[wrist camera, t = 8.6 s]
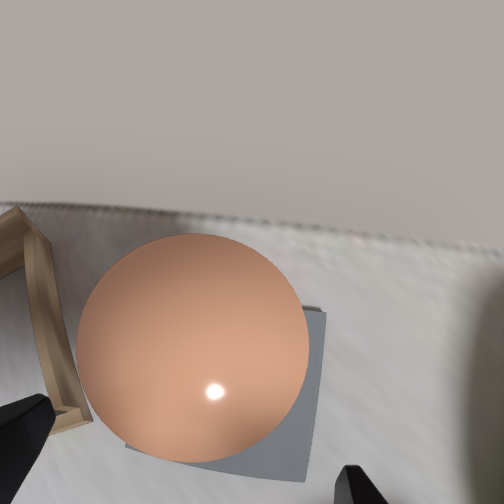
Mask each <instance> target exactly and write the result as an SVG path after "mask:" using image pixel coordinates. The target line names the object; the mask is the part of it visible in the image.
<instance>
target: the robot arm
mask: <svg viewBox="0 0 504 504" xmlns="http://www.w3.org/2000/svg"><path fill="white" fill-rule="evenodd" d="M55 420H56V414H55V411H54V408H53V405H52V402H51V400H50V398H49V397H47V396H45V395H43V394H35V395H33V396H30V397H27V398H24V399H21V400H19V401H16V402H13V403H10V404H7V405H4V406H1V407H0V504H11V502H12V500H13V498H14V497H15V495H16V493H17V491H18V490H19V488H20V486H21V485H22V483H23V481H24V479H25V478H26V476H27V474H28V473H29V471H30V469H31V468H32V466H33V464H34V463H35V461H36V460H37V458H38V456H39V454H40V452H41V450H42V448H43V446H44V444H45V442H46V440H47V438H48V435H49V433H50V431H51V429H52V427H53V425H54V423H55ZM334 504H388V503H387V501H386V500H385V499H384V497H383V496H382V495H381V493H380V492H379V491H378V489H377V488H376V487H375V486H374V484H373V483H372V482H371V480H370V479H369V478H368V476H367V475H366V474H365V472H364V471H363V469H362V468H361V467H360V466H359V465H345V466H344V467H343V469H342V471H341V472H340V474H339V476H338V478H337V480H336V483H335V494H334Z"/></svg>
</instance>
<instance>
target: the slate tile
mask: <svg viewBox="0 0 504 504" xmlns="http://www.w3.org/2000/svg"><path fill="white" fill-rule="evenodd" d="M303 312H304V315H305V318H306V323H307V328H308V335H309V356H308V366H307V370H306V374H305V378H304V382H303V384H302V387H301V389H300V392H299V394H298V397H297V398H296V400H295V402H294V404H293V405H292V407H291V409H290V411H289V412H288V413H287V414H286V416H285V417H284V418H283V420H282V421H281V422H280V423H279V424H278V425H277V426H276V427H275V428H274V429H273V430H272V431H271V432H270V433H269V434H268V435H267V436H266V437H264V438H263V439H261V440H260V441H258V442H257V443H256V444H254V445H253V446H251V447H249V448H247V449H245V450H243V451H241V452H239V453H237V454H234V455H231V456H228V457H225V458H222V459H218V460H212V461H206V462H177V461H173V462H177V463H181V464H185V465H189V466H194V467H198V468H203V469H208V470H213V471H218V472H223V473H229V474H235V475H241V476H248V477H255V478H263V479H271V480H281V481H293V482H305V479H306V474H307V468H308V462H309V456H310V450H311V444H312V437H313V431H314V424H315V417H316V409H317V402H318V394H319V385H320V377H321V368H322V358H323V348H324V337H325V325H326V312H318V311H309V310H303ZM125 447H127V448H129V449H133V450H136V451H139V452H142V451H140V450H138V449H136V448H134V447H133V446H131V445H129V444H128V443H126V444H125ZM142 453H144V452H142ZM145 454H147V453H145ZM148 455H149V454H148ZM169 461H170V460H169Z"/></svg>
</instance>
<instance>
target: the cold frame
mask: <svg viewBox="0 0 504 504" xmlns="http://www.w3.org/2000/svg"><path fill="white" fill-rule="evenodd" d="M24 265H25V271H26V282H27V291H28V299H29V306H30V313H31V319H32V325H33V331H34V336H35V342H36V347H37V351H38V356H39V360H40V365H41V369H42V373H43V377H44V381H45V385H46V388H47V392H48V395H49V398H50V400H51V402H52V405H53V408H54V410H61V411H68V412H67V413H64V414H61V415H58V416H56V420H55V423H54V425H53V427H52V429H51V431H50V433H49V435H53V434H56V433H59V432H62V431H66V430H69V429H72V428H75V427H78V426H81V425H84V424H87V423H90V422H93V419H92V416H91V414H90V411H89V408H88V405H87V403H86V400H85V397H84V394H83V391H82V388H81V385H80V381H79V378H78V375H77V372H76V368H75V365H74V361H73V358H72V354H71V350H70V347H69V343H68V339H67V335H66V331H65V326H64V322H63V317H62V313H61V308H60V303H59V298H58V292H57V287H56V281H55V275H54V268H53V261H52V254H51V245H50V242H49V241H48V240H47V239H46V238H45V236H44V235H43V234H42V233H41V232H40V231H39V230H38V229H37V228H36V226H35V225H34V224H33V223H32V222H31V221H30V220H29V218H28V217H27V216H26V215H25V214H24V213H23V211H22V210H21V209H20V208H19V207H18V205H17V206H15V207H14V208H12V209H10V210H9V211H7V212H6V213H4V214H2V215H1V216H0V279H1V278H3V277H4V276H6V275H8V274H10V273H11V272H13V271H15V270H17V269H18V268H20V267H22V266H24ZM49 435H48V436H49Z"/></svg>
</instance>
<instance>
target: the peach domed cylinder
mask: <svg viewBox="0 0 504 504" xmlns="http://www.w3.org/2000/svg"><path fill="white" fill-rule="evenodd" d="M308 356H309V335H308V328H307V323H306V318H305V315H304V312H303V309H302V306H301V303H300V301H299V299H298V297H297V295H296V293H295V291H294V289H293V288H292V286H291V285H290V283H289V282H288V280H287V279H286V277H285V276H284V275H283V274H282V273H281V272H280V271H279V270H278V268H277V267H276V266H275V265H273V264H272V263H271V262H270V261H269V260H268V259H267V258H265V257H264V256H263V255H261V254H260V253H258V252H257V251H255V250H254V249H252V248H250V247H248V246H246V245H244V244H242V243H239V242H237V241H234V240H231V239H228V238H224V237H220V236H216V235H208V234H180V235H172V236H168V237H164V238H160V239H157V240H154V241H152V242H149V243H146V244H144V245H142V246H140V247H138V248H136V249H134V250H133V251H131V252H130V253H128V254H127V255H125V256H124V257H122V258H121V259H120V260H119V261H117V262H116V263H115V264H114V265H113V266H112V267H111V268H110V269H109V270H108V271H107V272H106V273H105V274H104V275H103V276H102V278H101V279H100V280H99V282H98V283H97V284H96V286H95V287H94V289H93V291H92V292H91V294H90V296H89V297H88V299H87V302H86V304H85V306H84V309H83V311H82V314H81V318H80V321H79V325H78V331H77V338H76V359H77V368H78V372H79V377H80V381H81V384H82V386H83V389H84V392H85V394H86V396H87V398H88V400H89V402H90V404H91V406H92V408H93V409H94V411H95V412H96V413H97V415H98V416H99V418H100V419H101V420H102V422H103V423H104V424H105V425H106V426H107V427H108V428H109V429H110V430H111V431H112V432H113V433H114V434H116V435H117V436H118V437H119V438H121V439H122V440H123V441H124V442H126V443H128V444H129V445H131V446H133V447H134V448H136V449H138V450H140V451H142V452H144V453H147V454H149V455H152V456H154V457H158V458H162V459H166V460H170V461H177V462H206V461H212V460H218V459H222V458H225V457H228V456H231V455H234V454H237V453H239V452H241V451H243V450H245V449H247V448H249V447H251V446H253V445H254V444H256V443H257V442H258V441H260V440H261V439H263V438H264V437H266V436H267V435H268V434H269V433H270V432H271V431H272V430H273V429H274V428H275V427H276V426H277V425H278V424H279V423H280V422H281V421H282V420H283V418H284V417H285V416H286V414H287V413H288V412H289V411H290V409H291V407H292V405H293V404H294V402H295V400H296V398H297V397H298V394H299V392H300V389H301V387H302V384H303V382H304V378H305V374H306V370H307V366H308Z"/></svg>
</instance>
